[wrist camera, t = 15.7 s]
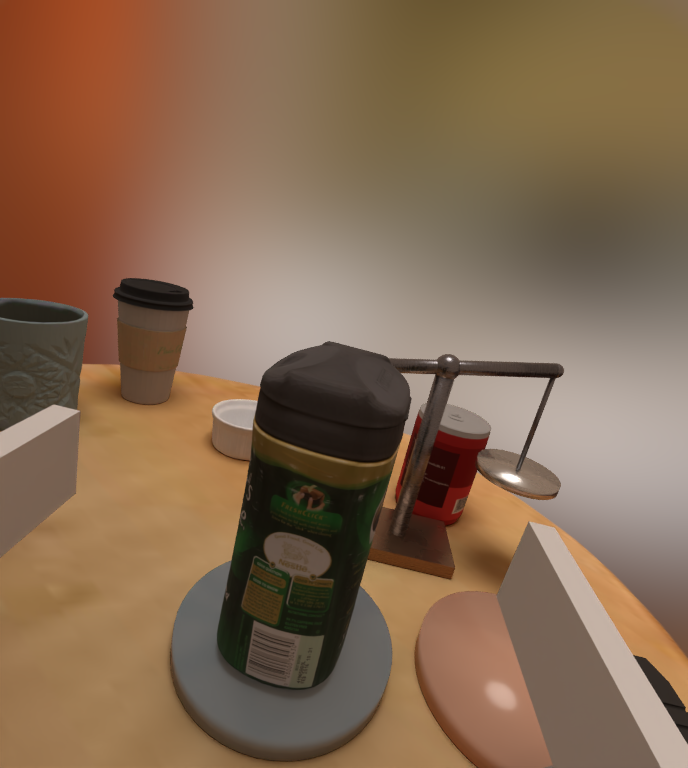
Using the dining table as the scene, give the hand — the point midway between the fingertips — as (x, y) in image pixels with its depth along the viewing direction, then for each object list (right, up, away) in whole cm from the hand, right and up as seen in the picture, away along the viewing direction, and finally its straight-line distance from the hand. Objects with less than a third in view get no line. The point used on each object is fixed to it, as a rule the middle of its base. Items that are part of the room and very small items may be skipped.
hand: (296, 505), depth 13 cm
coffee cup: (-26, +2, +49) cm, 55 cm away
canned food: (+11, -10, +38) cm, 41 cm away
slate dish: (-3, -14, +17) cm, 22 cm away
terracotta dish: (+13, -17, +18) cm, 28 cm away
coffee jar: (-3, -12, +16) cm, 21 cm away
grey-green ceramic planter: (-33, 0, +37) cm, 50 cm away
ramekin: (-11, -4, +42) cm, 43 cm away
